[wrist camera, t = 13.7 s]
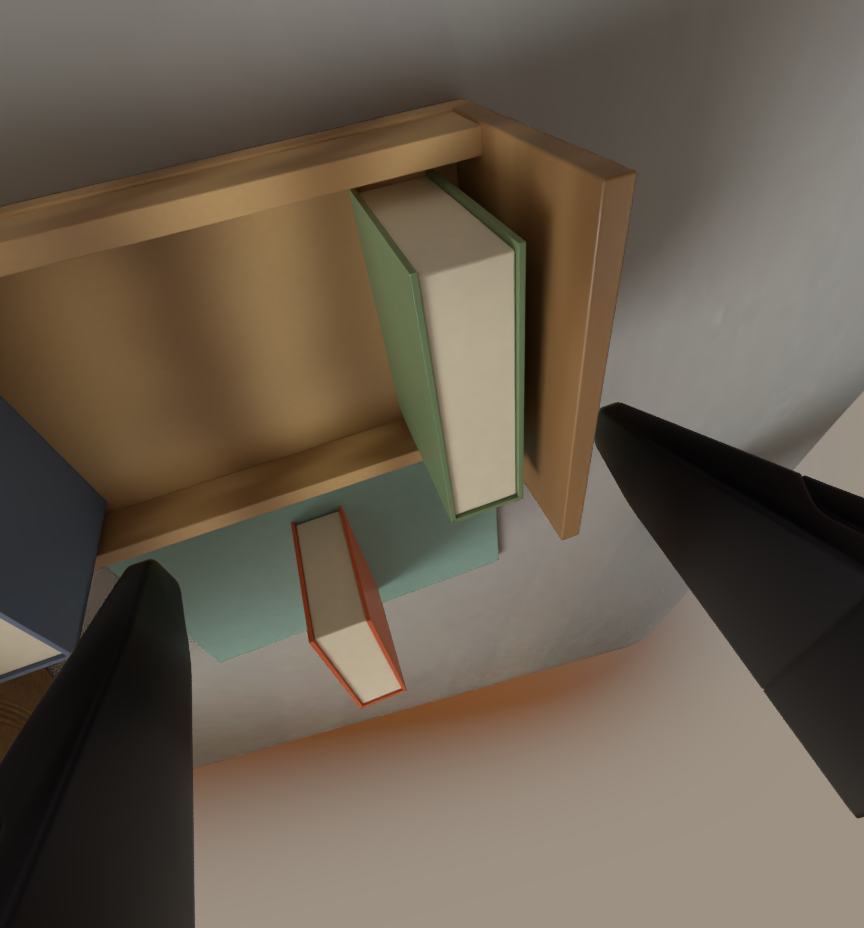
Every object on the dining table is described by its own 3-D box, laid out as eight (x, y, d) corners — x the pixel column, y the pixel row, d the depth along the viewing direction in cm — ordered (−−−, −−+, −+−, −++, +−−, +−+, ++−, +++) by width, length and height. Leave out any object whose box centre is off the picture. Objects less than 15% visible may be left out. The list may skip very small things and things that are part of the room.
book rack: (463, 97, 17) (639, 169, 10) (483, 393, 26) (579, 534, 19) (-312, 279, 14) (-830, 564, 7) (28, 538, 23) (-48, 766, 16)
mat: (489, 425, 28) (492, 430, 28) (496, 555, 38) (499, 559, 38) (99, 554, 25) (97, 560, 25) (219, 657, 35) (219, 662, 35)
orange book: (341, 505, 28) (370, 620, 23) (378, 589, 35) (406, 690, 30) (290, 522, 27) (308, 642, 22) (338, 603, 35) (360, 708, 30)
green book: (430, 165, 17) (526, 241, 12) (456, 391, 24) (523, 498, 19) (347, 186, 16) (409, 274, 11) (399, 409, 24) (451, 523, 18)
